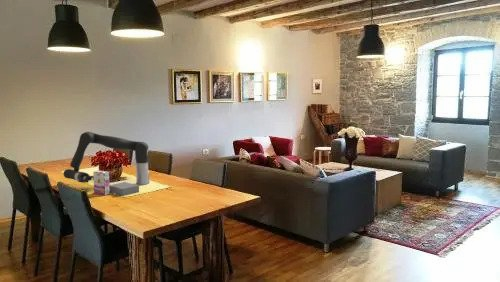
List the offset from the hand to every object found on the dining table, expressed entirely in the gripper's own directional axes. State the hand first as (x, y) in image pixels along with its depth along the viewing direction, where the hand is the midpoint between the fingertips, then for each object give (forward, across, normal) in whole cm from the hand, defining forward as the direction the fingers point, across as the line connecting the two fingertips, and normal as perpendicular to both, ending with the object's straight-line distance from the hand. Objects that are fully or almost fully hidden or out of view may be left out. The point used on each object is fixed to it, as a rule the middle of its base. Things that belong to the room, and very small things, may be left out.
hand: (93, 180), depth 284 cm
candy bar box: (+11, 0, +9) cm, 14 cm away
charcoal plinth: (+18, +13, +8) cm, 24 cm away
